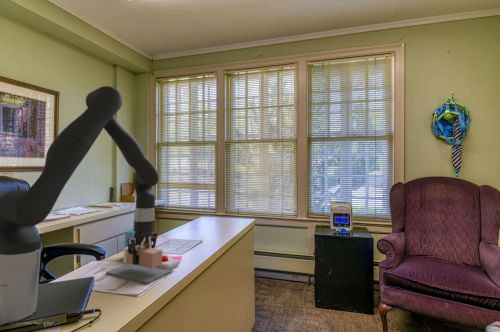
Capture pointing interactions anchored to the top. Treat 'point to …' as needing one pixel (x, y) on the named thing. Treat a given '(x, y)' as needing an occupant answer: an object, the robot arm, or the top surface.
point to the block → (145, 257)
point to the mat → (139, 273)
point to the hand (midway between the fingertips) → (141, 262)
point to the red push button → (168, 263)
